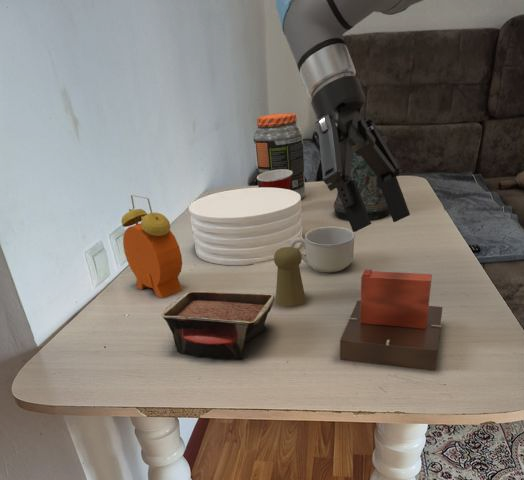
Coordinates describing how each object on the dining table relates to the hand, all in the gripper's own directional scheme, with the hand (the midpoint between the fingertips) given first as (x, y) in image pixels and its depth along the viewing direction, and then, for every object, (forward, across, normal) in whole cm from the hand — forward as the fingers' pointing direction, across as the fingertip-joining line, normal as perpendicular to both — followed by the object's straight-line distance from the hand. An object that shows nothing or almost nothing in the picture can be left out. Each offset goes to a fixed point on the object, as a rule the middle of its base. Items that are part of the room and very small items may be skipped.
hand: (383, 223), depth 73 cm
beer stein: (-11, -62, -36) cm, 72 cm away
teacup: (+2, -22, -28) cm, 36 cm away
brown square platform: (+18, 0, -6) cm, 19 cm away
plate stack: (-12, -27, -50) cm, 58 cm away
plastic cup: (-22, -54, -57) cm, 81 cm away
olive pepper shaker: (+6, -5, -26) cm, 27 cm away
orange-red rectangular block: (+15, +1, -4) cm, 15 cm away
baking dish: (+8, +13, -29) cm, 33 cm away
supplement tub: (-28, -69, -64) cm, 98 cm away
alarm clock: (-8, +3, -53) cm, 54 cm away
